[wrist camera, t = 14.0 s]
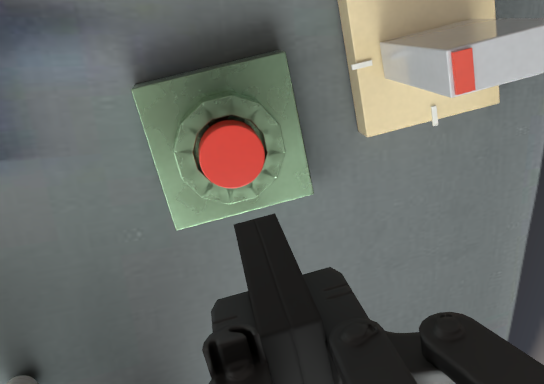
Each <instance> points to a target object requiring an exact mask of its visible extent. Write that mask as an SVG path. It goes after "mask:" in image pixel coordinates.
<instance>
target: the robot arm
mask: <svg viewBox="0 0 544 384" xmlns="http://www.w3.org/2000/svg"><path fill="white" fill-rule="evenodd" d="M234 228H235V232H236V237H237V241H238V246H239V250H240V255H241V259H242V264H243V268H244V273H245V277H246V282H247V286H248V291H247V292H244V293H240V294H236V295H233V296H229V297H226V298H222V299H218V300H217V301H216V303H215V305H214V307H213V309H212V311H211V316H212V329H213V333H212V334H211V335H209V337H208V338H207V339H206V341H205V342H204V345H203V349H202V351H203V354H204V357H205V360H206V363H207V366H208V369H209V372H210V375H211V378H212V380H211V381H210V383H209V384H544V365H542V364H541V363H539V362H538V361H536V360H535V359H533V358H532V357H530V356H529V355H527V354H526V353H524V352H523V351H521V350H519V349H518V348H516V347H515V346H513V345H512V344H510V343H509V342H507V341H506V340H504V339H503V338H501V337H500V336H498V335H497V334H495V333H494V332H492V331H490V330H489V329H487V328H486V327H484V326H483V325H481V324H480V323H478V322H477V321H475V320H474V319H472V318H470V317H468V316H466V315H463V314H459V313H454V312H444V313H437V314H434V315H431V316H429V317H428V318H426V319H425V320H423V321H422V323H421V325H420V327H419V332H416V333H393V332H387V331H384V329H383V328H382V327H381V326H380V325H379V324H378V323H377V322H374V321H372V320H370V319H369V318H368V316H367V314H366V313H365V311H364V310H363V308H362V306H361V305H360V303H359V301H358V300H357V298H356V296H355V295H354V293H353V292H352V290H351V288H350V286H349V285H348V283H347V281H346V280H345V278H344V276H343V275H342V273H340V272H338V271H336V270H335V269H333V268H331V267H329V268H325V269H321V270H318V271H314V272H311V273H307V274H304V275H302V273H301V271H300V269H299V266H298V264H297V262H296V260H295V257H294V255H293V253H292V251H291V248H290V246H289V244H288V242H287V240H286V237H285V235H284V233H283V231H282V228H281V226H280V224H279V222H278V219H277V217H276V215H275V214H272V215H268V216H264V217H260V218H257V219H253V220H249V221H245V222H242V223H238V224H234Z"/></svg>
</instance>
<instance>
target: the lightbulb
mask: <svg viewBox="0 0 544 384" xmlns="http://www.w3.org/2000/svg"><path fill="white" fill-rule="evenodd" d="M7 384H38V382H37V381H36V380H35V379H34V378H32V377H30V376H25V375H21V376H16V377H13V378H12V379H10V380H9V381H8V382H7Z"/></svg>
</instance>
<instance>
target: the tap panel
mask: <svg viewBox="0 0 544 384" xmlns="http://www.w3.org/2000/svg"><path fill="white" fill-rule="evenodd" d="M338 6H339V12H340V18H341V25H342V31H343V37H344V44H345V50H346V56H347V63H348V69H349V75H350V82H351V88H352V95H353V101H354V107H355V114H356V120H357V126H358V131H359V132H360V133H362V134H363V135H365V136H366V137H371V136H375V135H379V134H382V133H386V132H390V131H394V130H398V129H402V128H406V127H409V126H413V125H417V124H421V123H425V122H429V121H432V124H433V126H436V125H438V119H440V118H444V117H448V116H452V115H456V114H460V113H463V112H467V111H471V110H475V109H479V108H483V107H486V106H490V105H494V104H498V103H499V102H500V100H499V85H498V86H494V87H490V88H486V89H483V90H479V91H475V92H472V93H468V94H464V95H461V96H457V97H453V98H450V97H447V96H444V95H440V94H437V93H433V92H430V91H427V90H423V89H420V88H416V87H413V86H410V85H406V84H403V83H400V82H396V81H393V80H389V79H386V78H385V76H384V69H383V62H382V56H381V49H380V42H383V41H387V40H391V39H395V38H399V37H402V36H406V35H410V34H414V33H418V32H422V31H426V30H429V29H433V28H437V27H441V26H445V25H449V24H453V23H456V22H460V21H464V20H468V19H495V0H338Z"/></svg>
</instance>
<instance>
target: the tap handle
mask: <svg viewBox="0 0 544 384" xmlns="http://www.w3.org/2000/svg"><path fill="white" fill-rule="evenodd" d="M380 49H381V56H382V62H383V69H384V76H385V78H386V79H389V80H393V81H396V82H400V83H403V84H406V85H410V86H413V87H416V88H420V89H423V90H427V91H430V92H433V93H437V94H440V95H444V96H447V97H450V98H453V97H457V96H461V95H464V94H468V93H472V92H475V91H479V90H483V89H486V88H490V87H494V86H498V85H501V84H505V83H509V82H512V81H516V80H520V79H523V78H527V77H531V76H534V75H538V74H542V73H544V18H513V19H468V20H464V21H460V22H456V23H453V24H449V25H445V26H441V27H437V28H433V29H429V30H426V31H422V32H418V33H414V34H410V35H406V36H402V37H399V38H395V39H391V40H387V41H383V42H380Z"/></svg>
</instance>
